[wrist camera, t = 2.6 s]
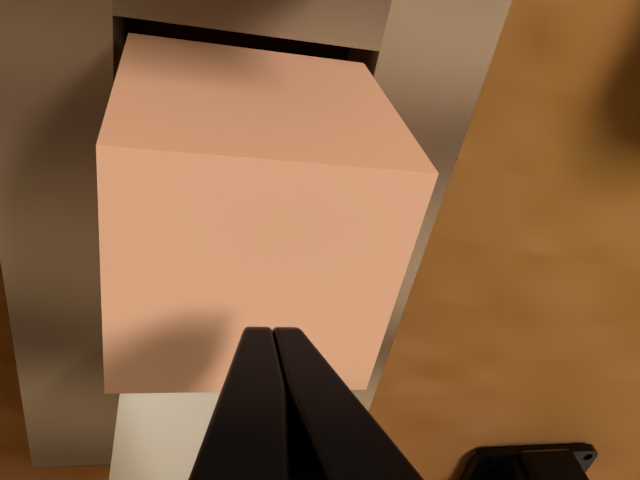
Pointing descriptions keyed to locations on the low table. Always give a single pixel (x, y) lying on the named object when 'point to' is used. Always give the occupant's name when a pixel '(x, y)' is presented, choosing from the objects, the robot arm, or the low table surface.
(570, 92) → the low table surface
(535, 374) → the low table surface
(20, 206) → the walnut board
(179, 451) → the cream cube
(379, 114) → the peach cube
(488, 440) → the low table surface
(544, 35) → the low table surface
